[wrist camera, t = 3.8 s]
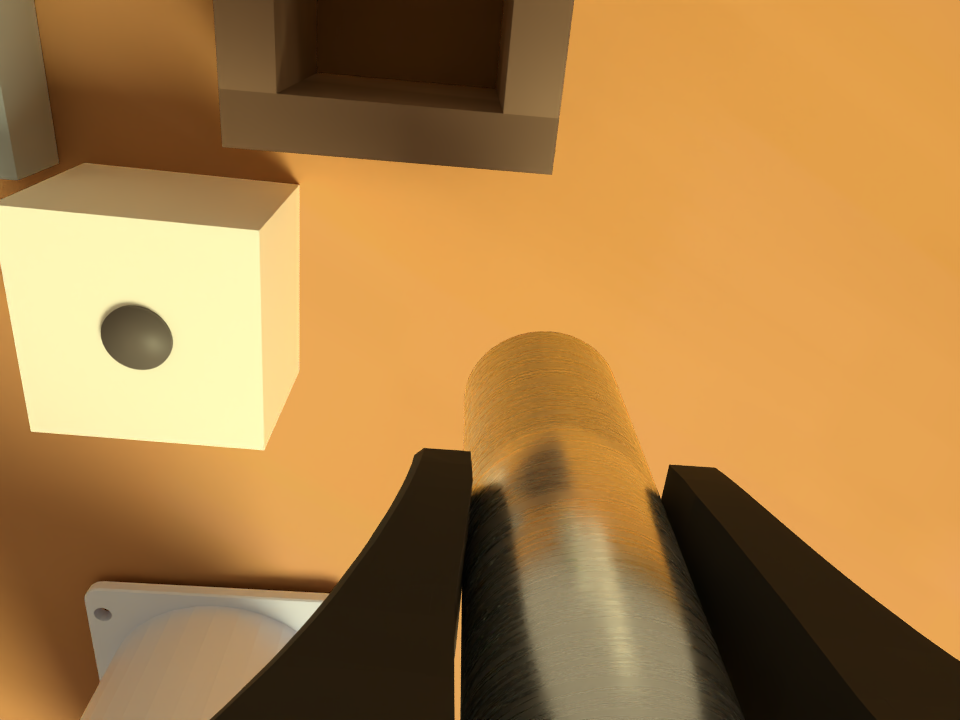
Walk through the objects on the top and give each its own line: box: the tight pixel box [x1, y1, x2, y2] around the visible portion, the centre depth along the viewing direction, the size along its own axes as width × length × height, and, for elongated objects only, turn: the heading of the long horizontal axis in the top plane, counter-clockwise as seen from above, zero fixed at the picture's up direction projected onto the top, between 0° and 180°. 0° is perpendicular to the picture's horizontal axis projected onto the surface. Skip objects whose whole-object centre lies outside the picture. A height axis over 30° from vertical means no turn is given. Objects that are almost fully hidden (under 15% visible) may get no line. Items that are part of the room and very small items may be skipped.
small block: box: [0, 163, 300, 450], centre depth 17 cm, size 5×5×4 cm
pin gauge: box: [460, 331, 745, 720], centre depth 9 cm, size 3×3×8 cm
